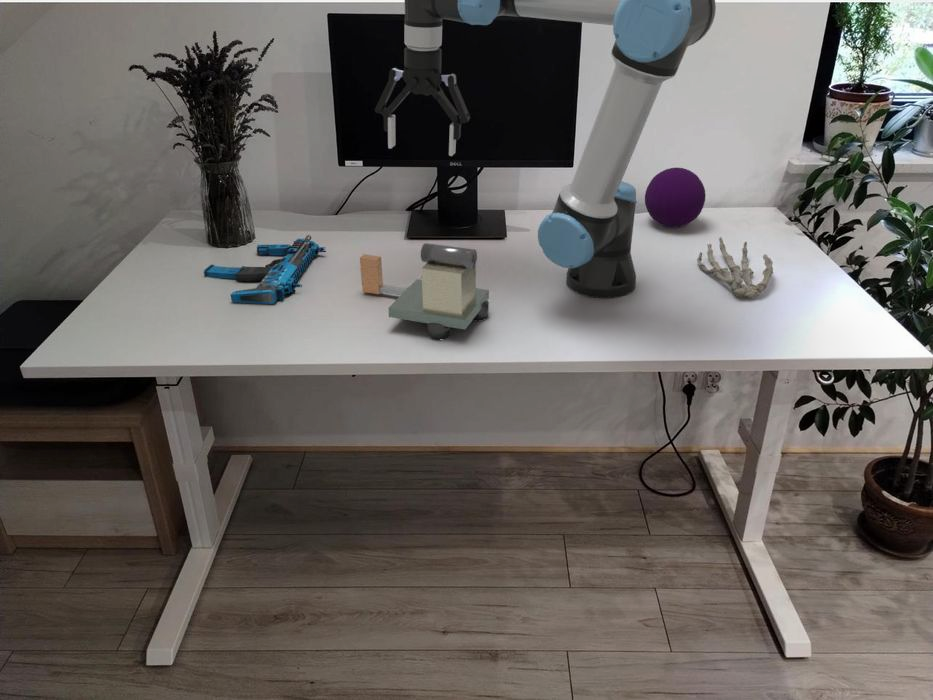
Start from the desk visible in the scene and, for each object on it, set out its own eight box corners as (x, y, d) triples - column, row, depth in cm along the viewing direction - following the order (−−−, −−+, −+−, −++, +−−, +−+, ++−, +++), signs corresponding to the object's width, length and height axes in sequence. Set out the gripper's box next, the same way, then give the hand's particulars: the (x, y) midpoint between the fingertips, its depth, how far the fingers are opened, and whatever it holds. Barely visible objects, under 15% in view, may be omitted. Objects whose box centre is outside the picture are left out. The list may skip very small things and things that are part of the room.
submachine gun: (236, 231, 198) (333, 229, 194) (240, 245, 199) (336, 244, 196) (179, 291, 168) (292, 289, 165) (183, 306, 170) (295, 305, 167)
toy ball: (679, 240, 196) (686, 182, 188) (630, 225, 205) (635, 168, 198) (712, 225, 204) (721, 168, 197) (664, 211, 214) (670, 156, 206)
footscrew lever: (431, 296, 169) (430, 260, 165) (423, 305, 165) (421, 269, 161) (369, 286, 174) (366, 251, 169) (359, 295, 170) (356, 260, 166)
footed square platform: (491, 312, 163) (492, 233, 154) (467, 345, 151) (466, 262, 142) (417, 300, 168) (414, 223, 159) (388, 331, 156) (382, 250, 148)
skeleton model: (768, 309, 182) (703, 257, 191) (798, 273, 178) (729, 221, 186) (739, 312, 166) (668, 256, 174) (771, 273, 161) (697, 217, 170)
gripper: (487, 49, 160) (481, 151, 171) (371, 38, 164) (373, 138, 176) (478, 56, 153) (473, 162, 165) (358, 44, 158) (361, 148, 169)
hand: (421, 150), depth 170 cm, fingers open, 13 cm apart
